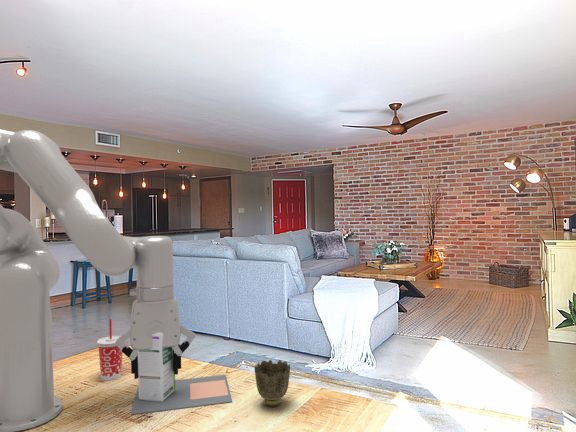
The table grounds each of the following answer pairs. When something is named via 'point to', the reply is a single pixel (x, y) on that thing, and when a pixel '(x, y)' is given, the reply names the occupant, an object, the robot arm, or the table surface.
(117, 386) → the table surface
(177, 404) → the mat
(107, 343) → the beverage cup
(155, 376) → the syrup box
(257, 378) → the cup
